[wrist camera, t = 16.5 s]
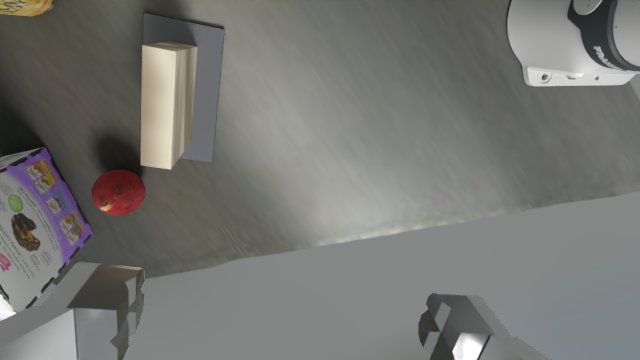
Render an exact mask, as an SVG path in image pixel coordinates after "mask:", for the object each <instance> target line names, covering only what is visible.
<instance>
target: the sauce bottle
mask: <svg viewBox="0 0 640 360" xmlns="http://www.w3.org/2000/svg"><path fill="white" fill-rule="evenodd" d="M55 3H56V0H0V14H9V15H21V16H34V15H41V14H44V13H47V12H49V10H51V9H52V7H53V6H54V5H55Z"/></svg>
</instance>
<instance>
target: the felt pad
mask: <svg viewBox="0 0 640 360" xmlns="http://www.w3.org/2000/svg"><path fill="white" fill-rule="evenodd" d="M224 32H225V30H224V29H219V28H214V27H210V26H205V25H200V24H195V23H191V22H186V21H181V20H176V19H171V18H167V17H162V16H157V15H152V14H148V13H144V15H143V45H148V44H155V43H163V42H170V41H172V42H177V43H182V44H187V45H192V46H197V62H196V77H195V92H194V107H193V122H192V136H191V143H190V144H189V145H188V147H187V148H186V149H185V151H184V152H183V153H182V155H181V156H180V157H179V158H183V159H190V160H197V161H204V162H211V163H212V161H213V151H214V140H215V129H216V118H217V107H218V97H219V86H220V75H221V64H222V53H223V42H224Z"/></svg>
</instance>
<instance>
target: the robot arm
mask: <svg viewBox="0 0 640 360" xmlns="http://www.w3.org/2000/svg"><path fill="white" fill-rule="evenodd" d="M507 29H508V37H509V41H510V45H511V47H512V49H513V51H514V53H515V55H516V56H517V58H518V59H519V60H520V62H521V64H522V69H523V76H524V80H525V82H526V84H527V85H529V86H586V85H622V84H625V83H626V82H628V81H629V80H630V79H631V78H632V77H633V76H634V75H635V74H640V0H512V1H511V5H510V8H509V13H508V22H507ZM543 75H544V78H543V79H542V76H543ZM144 281H145V277H144V269H143V268H138V267H129V266H119V265H110V264H99V263H88V262H79V263H77V264H75V265H74V266H73V267H72V269H71V270H70V271H69V272H68V273H67V274H66V276H65V277H64V278H63V279H62V280H61V281H60V283H59V284H58V285H57V286H56V287H55V289H54V290H53V291H52V292H51V293H50V294H49V295H48V297H47V298H46V299H45V300H44V301H43V303H42V304H41V305H40V306H31V307H29V308H27V309H25V310H23V311H20V312H18V313H16V314H14V315H12V316H10V317H8V318H6V319H3V320H1V321H0V360H123V358H124V356H125V354H126V352H127V349H128V347H129V336H130V335H132V334H133V333H135V332H136V330H137V327H138V325H139V323H140V319H141V316H142V312H143V306H144V294H143V293H142V291H141V290H140V289H141V287H142V285H143V283H144ZM426 305H427V307H428V310H427V311H426V312H425V313H423V314H422V315H421V318H420V321H419V324H418V334H419V339H420V342H421V344H422V347H423V348H424V349H425V350H426V351H427V352H429V353H430V354H431V357H430V360H551V359H549V358H548V357H546V356H545V355H543V354H542V353H540V352H539V351H537V350H536V349H534V348H533V347H531V346H530V345H528V344H527V343H525V342H524V341H522V340H520V339H519V338H518V337H512V336H511V335H510V333H509V332H508V331H507V329H506V328H505V327H504V325H503V324H502V323H501V322H500V320H499V319H498V318H497V317H496V315H495V314H494V313H493V311H492V310H491V309H490V307H489V306H488V305H487V304H486V302H485V301H484V300H483V299H482V298H481V297H479V296H472V295H451V294H437V293H432V294H431V295H430V296H429V297H428V300H427V302H426Z"/></svg>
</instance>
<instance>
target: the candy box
mask: <svg viewBox="0 0 640 360" xmlns="http://www.w3.org/2000/svg"><path fill="white" fill-rule="evenodd" d="M92 235H93V232H92V230H91V228H90V226H89V224H88V223H87V221H86V219H85V218H84V216H83V214H82V212H81V210H80V208H79V206H78V205H77V203H76V201H75V199H74V198H73V196H72V194H71V192H70V190H69V189H68V187H67V185H66V183H65V182H64V180H63V178H62V176H61V174H60V173H59V171H58V169H57V168H56V166H55V164H54V162H53V160H52V158H51V156H50V155H49V153H48V151H47V149H46V147H41V148H37V149H33V150H29V151H24V152H19V153H14V154H10V155H6V156H3V157H1V158H0V321H1V320H3V319H6V318H8V317H10V316H12V315H14V314H16V313H18V312H20V311H23V310H25V309H27V308H29V307H31V306H32V305H33V303H34V302H35V301H36V300H37V299H38V298H39V297H40V295H41V294H42V293H43V292H44V291H45V289H46V288H47V287H48V286H49V285H50V284H51V282H52V281H53V280H54V279H55V278H56V277H57V276H58V274H59V273H60V272H61V271H62V270H63V269H64V267H65V266H66V265H67V264H68V263H69V262H70V260H71V259H72V258H73V257H74V256H75V254H76V253H77V252H78V251H79V250H80V249H81V247H82V246H83V245H84V244H85V243H86V242H87V240H88V239H89V238H90V237H92Z"/></svg>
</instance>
